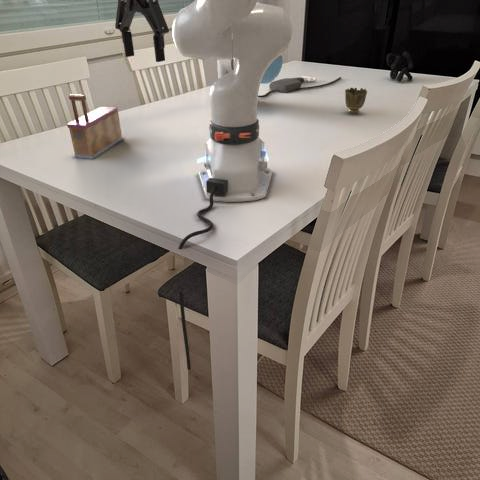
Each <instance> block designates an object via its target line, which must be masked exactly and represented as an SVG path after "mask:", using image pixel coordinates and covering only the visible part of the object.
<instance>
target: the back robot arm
mask: <svg viewBox="0 0 480 480" xmlns="http://www.w3.org/2000/svg"><path fill="white" fill-rule="evenodd" d="M257 3H262V4H268V5H273V6H278V7H279V0H258V2H257ZM136 13H140V14H141V15H143V16H144V18H145V20H146V22H147V23H148V25H149V27H150V29H151V30H152V32H153V36H152V40H153V48H154V56H155V62H156V63H160V62H165V61H166V56H165V47H166V44H165V35H166V34H169V32H170V29H169V27H168V24H167V22H166V18H165V16H164V14H163V11H162V9H161V6H160V3H159V0H117V9H116V15H115V25H114V27H115V29H116V30H118V31H119V32H120V34H121V40H122V44H123V50H124V56H125V58H130V57H135V48H134V42H133V41H134V40H133V35H132V31H131V30H132V29H131V26H132V23H133V20H134V17H135V15H136ZM216 63H217V80H218V79H219V78H221V77H223V76H224V75H226V74H228V73H230V72H232V71H233V70H234V68H235V67H236V64H237V62H236V60H233V43H232V60H216ZM282 67H283V56H282V54H281V55H280V56H279V57H277V58H276V59H275V60H274V61H273V62H272V63H271V64H270V66H269V67H268V68H267V70H266V72H265V73H264V75H263V77H262V80H261V82H260V84H262V85H267V84H270V83H271V82H274V81H275V79H277V77H278V76H279V74H280V73H281V70H282ZM339 80H342V76H339V77H338V78H336V79H334V80H332V81H329V82H327V83H324V84H323V83H322V84H318V85H313V86H306V87H305V86H304V87H300V88H296V89H295V90H294V91H299V90H300V91H301V90H309V89H317V88H321V87H326V86H329V85H332V84H335V83H336V82H338V81H339ZM278 92H279V90H270V91H267V92H266V93H265V94H263V95H258V99H259V98H265V97H267V96H268V95H270V94H272V93H278Z"/></svg>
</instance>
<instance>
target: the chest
mask: <svg viewBox="0 0 480 480" xmlns="http://www.w3.org/2000/svg"><path fill="white" fill-rule="evenodd" d="M68 131H69V134H70V138H71V143H72V147H73V152H74V157H75V158H80V159H88V160H89V159H90V160H94V159H95V158H96V157H98V156H100V155H101V154H102V153H104V152H106V150H108V149H110V148H112V147H113V146H114V145H116V144H117V143H120V142H121V141H122V140H123V139H124V137H123V133H122V128H121V122H120V114H119V110H118V111H117V112H115V113H114V114H112V115H110V116H108V117H106V118H105V119H103V120H101V121H99V122H97V123H95V124H94V125H92V126H90V127H88V128H86V129H78V128H68Z"/></svg>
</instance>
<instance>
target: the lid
mask: <svg viewBox="0 0 480 480" xmlns="http://www.w3.org/2000/svg"><path fill="white" fill-rule="evenodd" d="M68 99H69V100H70V103H71V107H72V111H73V116H74V120H71V121H70V122H68V123H66V126H67V128H68V129H69V128H78V129H86V128H88V127H90V126H92V125H94V124H95V123H97V122H99V121H101V120H103V119H105V118H106V117H108V116H110V115H112V114H114V113H115V112H117V111H118V112H119V109H118V107H114V106H113V107H112V106H100V107H98V108H95V109H93V110H92V111H89V112H88V109H87V105H86V100H87V97H86V95H85V94H74V93H73V94H72V93H70V94H69V95H68ZM76 102H81V107H82V111H83V115H82V116H80V117H79V114H78V110H77V105H76Z"/></svg>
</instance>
